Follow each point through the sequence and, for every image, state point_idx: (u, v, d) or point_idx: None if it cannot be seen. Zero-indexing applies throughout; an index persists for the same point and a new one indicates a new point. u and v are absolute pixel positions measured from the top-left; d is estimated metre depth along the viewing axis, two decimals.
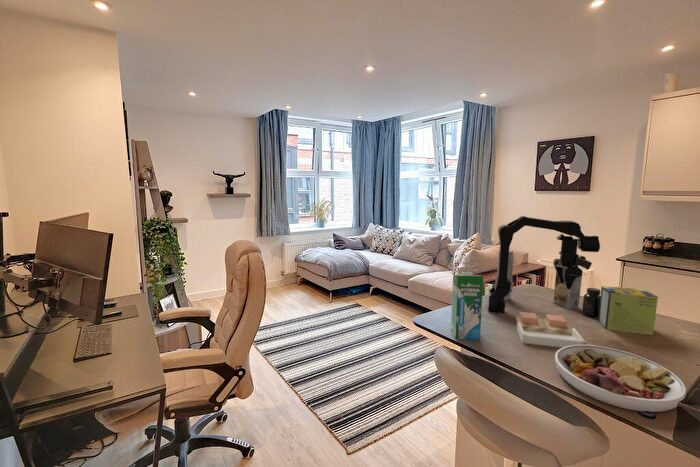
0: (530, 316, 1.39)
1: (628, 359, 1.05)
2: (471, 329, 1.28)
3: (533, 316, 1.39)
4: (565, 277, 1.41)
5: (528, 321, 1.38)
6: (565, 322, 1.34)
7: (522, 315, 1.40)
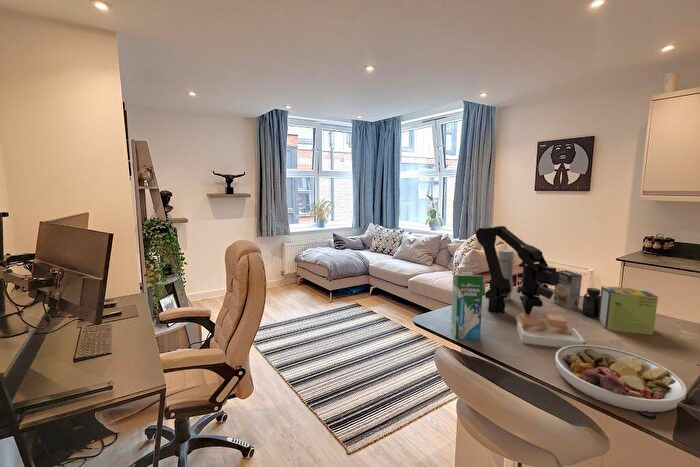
0: (531, 318, 1.37)
1: (628, 359, 1.05)
2: (471, 329, 1.28)
3: (534, 318, 1.37)
4: (524, 304, 1.40)
5: (529, 323, 1.36)
6: (565, 322, 1.34)
7: (523, 317, 1.39)
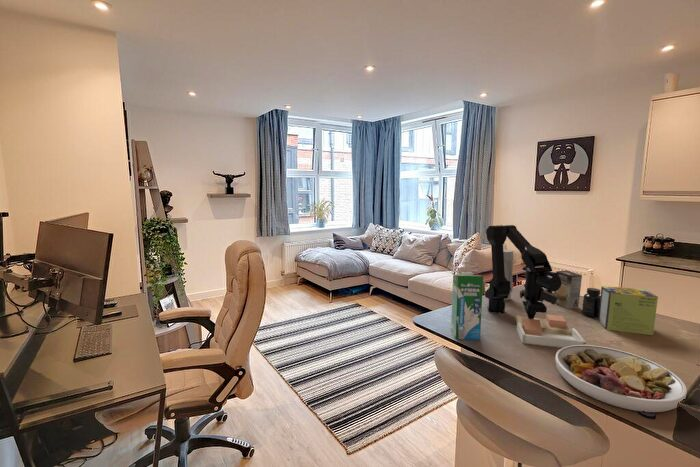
0: (534, 327, 1.32)
1: (628, 359, 1.05)
2: (471, 329, 1.28)
3: (537, 327, 1.31)
4: (527, 309, 1.34)
5: (531, 332, 1.31)
6: (565, 322, 1.34)
7: (525, 325, 1.33)
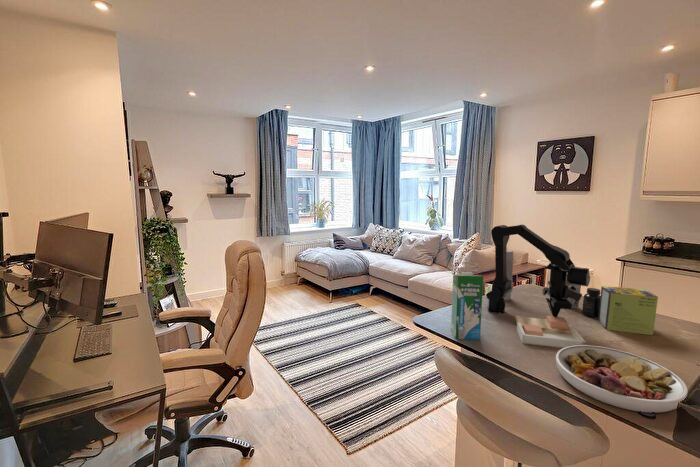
0: (535, 329, 1.30)
1: (629, 359, 1.05)
2: (471, 329, 1.28)
3: (538, 330, 1.30)
4: (551, 306, 1.38)
5: None
6: (567, 324, 1.32)
7: (526, 328, 1.32)
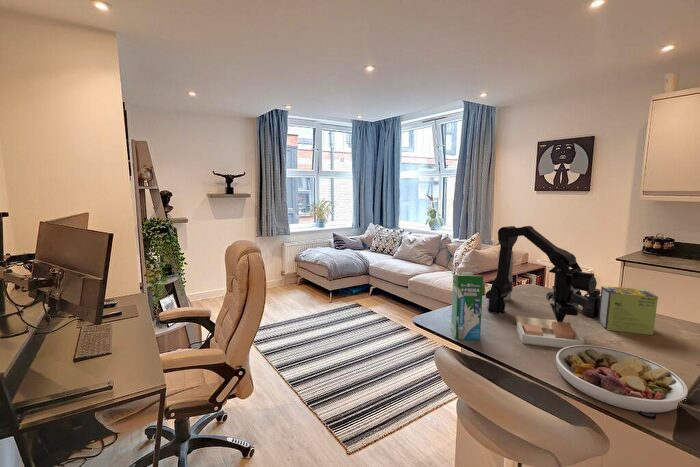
0: (535, 329, 1.30)
1: (629, 359, 1.05)
2: (471, 329, 1.28)
3: (538, 330, 1.30)
4: (556, 312, 1.31)
5: None
6: (573, 335, 1.27)
7: (526, 328, 1.32)
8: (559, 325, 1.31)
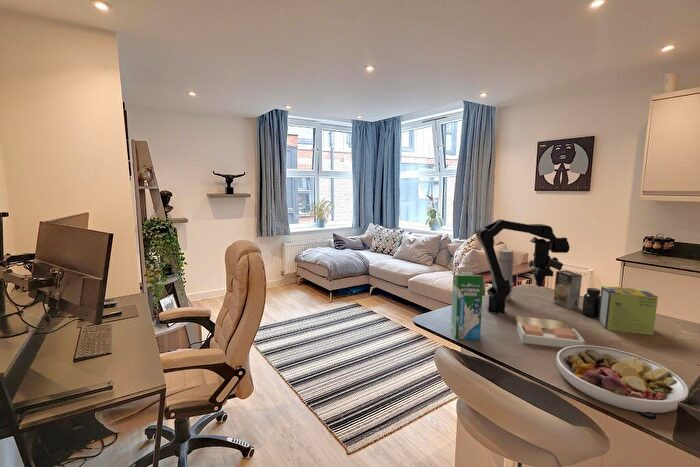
0: (535, 329, 1.30)
1: (630, 360, 1.05)
2: (471, 329, 1.28)
3: (538, 330, 1.30)
4: (535, 275, 1.52)
5: None
6: (574, 336, 1.25)
7: (526, 328, 1.32)
8: (559, 330, 1.30)
